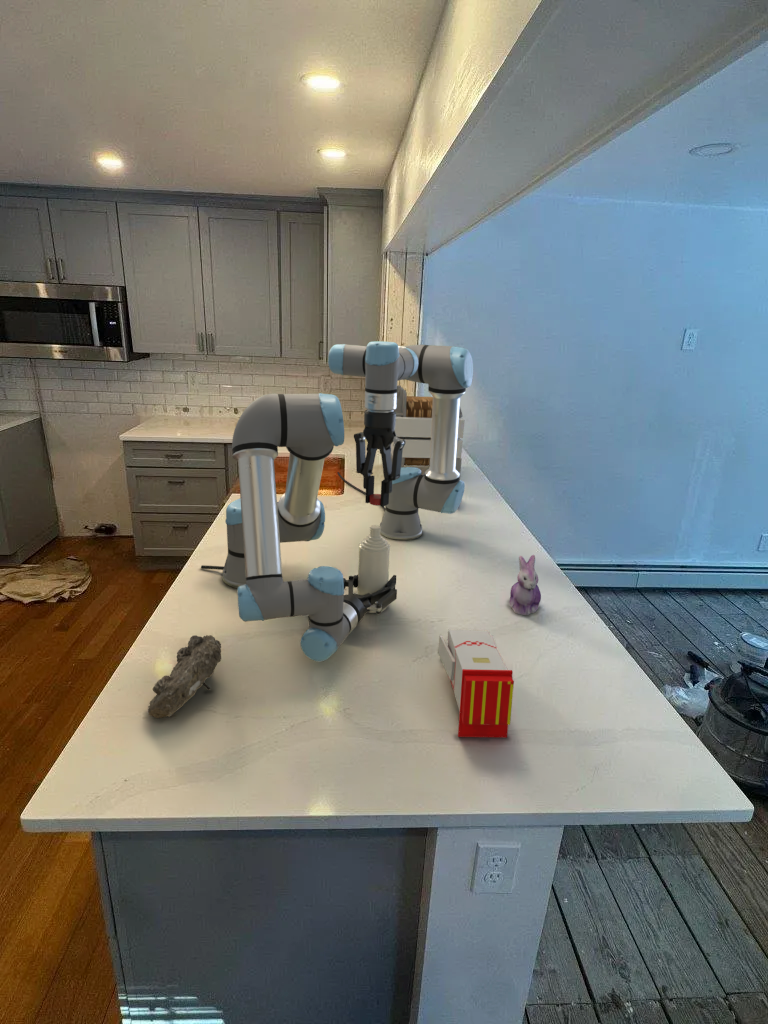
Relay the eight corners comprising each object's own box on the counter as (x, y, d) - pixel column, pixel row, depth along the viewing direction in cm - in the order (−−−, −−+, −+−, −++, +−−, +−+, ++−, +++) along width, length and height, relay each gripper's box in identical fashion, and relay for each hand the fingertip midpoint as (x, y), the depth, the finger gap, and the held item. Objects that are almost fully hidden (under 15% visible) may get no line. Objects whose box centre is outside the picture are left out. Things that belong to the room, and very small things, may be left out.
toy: (488, 613, 130) (523, 677, 101) (484, 667, 133) (517, 744, 104) (435, 612, 130) (455, 676, 101) (432, 666, 133) (451, 743, 103)
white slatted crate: (382, 463, 289) (386, 382, 275) (445, 464, 293) (451, 384, 279) (390, 482, 257) (394, 392, 243) (460, 483, 261) (468, 394, 247)
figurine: (523, 619, 147) (531, 567, 142) (498, 602, 156) (505, 552, 150) (551, 612, 151) (559, 561, 146) (525, 595, 160) (532, 546, 155)
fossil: (175, 637, 125) (222, 606, 120) (205, 666, 128) (253, 637, 123) (125, 712, 105) (179, 678, 100) (162, 744, 108) (217, 713, 103)
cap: (380, 506, 140) (380, 499, 139) (367, 503, 141) (367, 497, 140) (386, 502, 143) (387, 495, 142) (373, 499, 144) (373, 492, 144)
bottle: (352, 609, 149) (355, 529, 141) (362, 595, 156) (365, 519, 148) (382, 615, 147) (386, 534, 139) (390, 600, 154) (394, 523, 146)
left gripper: (304, 619, 138) (344, 581, 158) (385, 639, 131) (415, 596, 151) (304, 592, 135) (344, 556, 155) (386, 610, 129) (417, 571, 149)
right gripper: (341, 407, 135) (340, 500, 143) (403, 416, 127) (398, 514, 135) (359, 403, 141) (357, 493, 149) (419, 412, 133) (413, 506, 141)
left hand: (379, 576), depth 153 cm, fingers closed on bottle, 8 cm apart
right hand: (376, 503), depth 142 cm, fingers closed on cap, 4 cm apart
